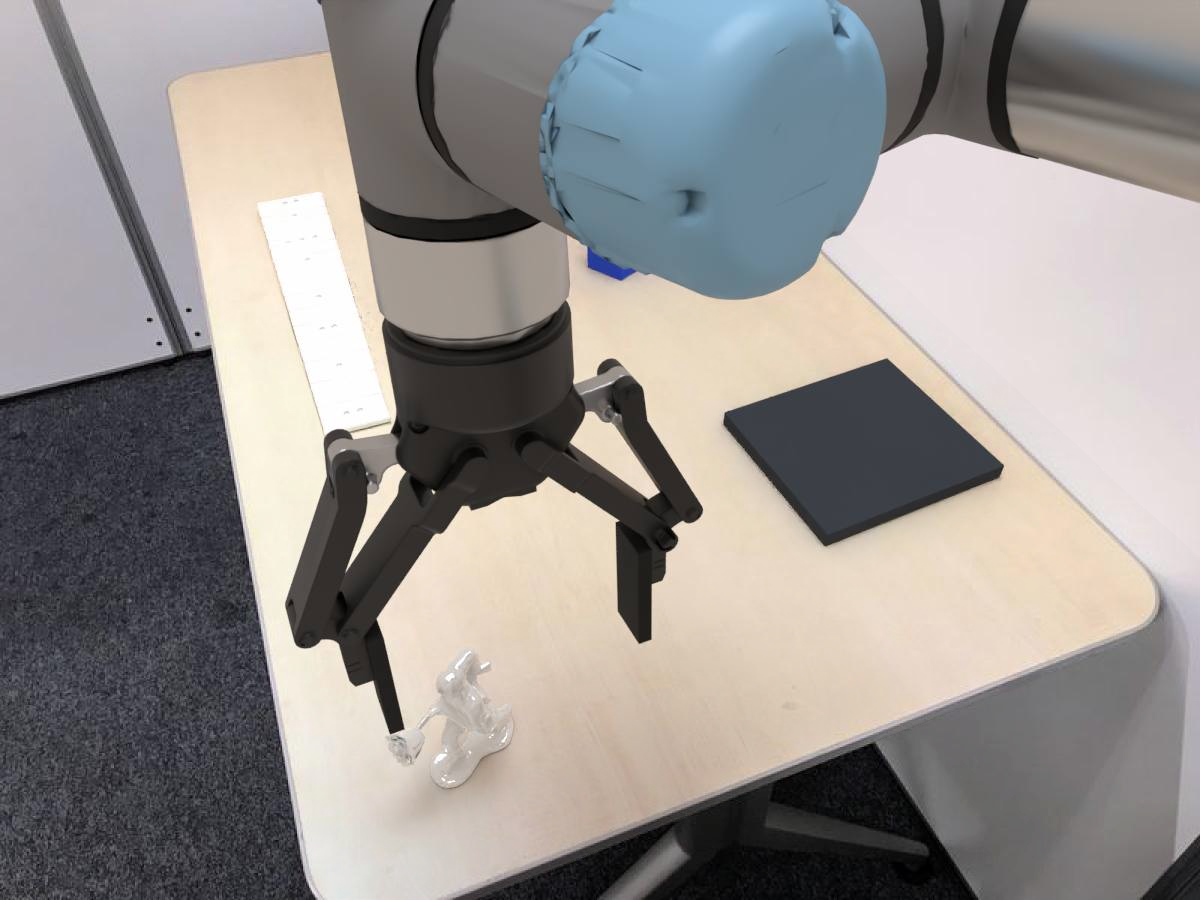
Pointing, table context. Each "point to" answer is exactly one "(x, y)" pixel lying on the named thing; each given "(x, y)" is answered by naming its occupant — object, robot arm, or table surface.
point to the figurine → (458, 724)
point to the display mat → (860, 449)
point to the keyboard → (323, 313)
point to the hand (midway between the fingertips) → (517, 667)
